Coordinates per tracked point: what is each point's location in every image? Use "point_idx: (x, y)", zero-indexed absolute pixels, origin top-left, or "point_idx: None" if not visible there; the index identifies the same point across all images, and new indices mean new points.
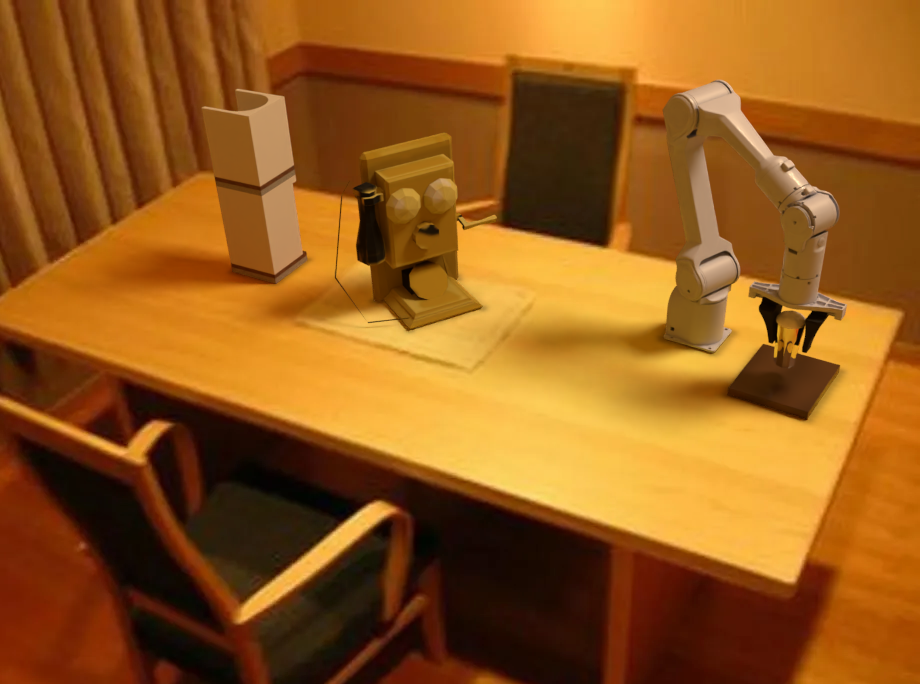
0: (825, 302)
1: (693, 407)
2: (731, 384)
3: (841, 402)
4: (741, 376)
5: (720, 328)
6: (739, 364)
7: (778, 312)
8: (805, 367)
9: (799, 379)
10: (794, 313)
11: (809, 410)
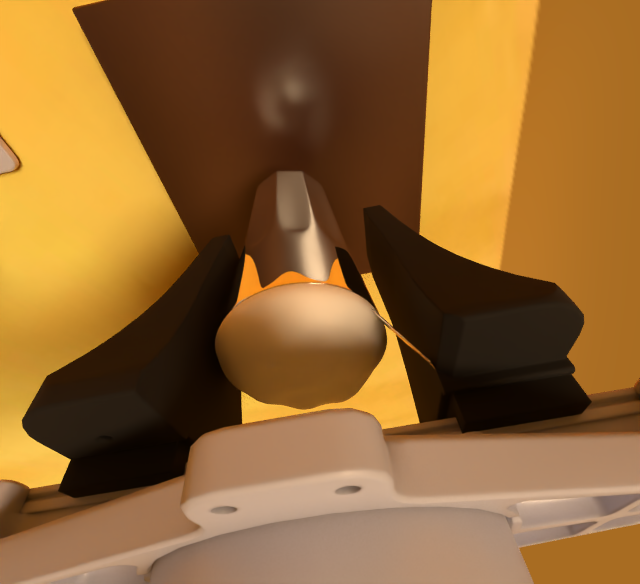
0: (592, 518)
1: None
2: None
3: (470, 132)
4: None
5: None
6: (128, 158)
7: (208, 363)
8: (320, 70)
9: (340, 158)
10: (306, 365)
11: None
